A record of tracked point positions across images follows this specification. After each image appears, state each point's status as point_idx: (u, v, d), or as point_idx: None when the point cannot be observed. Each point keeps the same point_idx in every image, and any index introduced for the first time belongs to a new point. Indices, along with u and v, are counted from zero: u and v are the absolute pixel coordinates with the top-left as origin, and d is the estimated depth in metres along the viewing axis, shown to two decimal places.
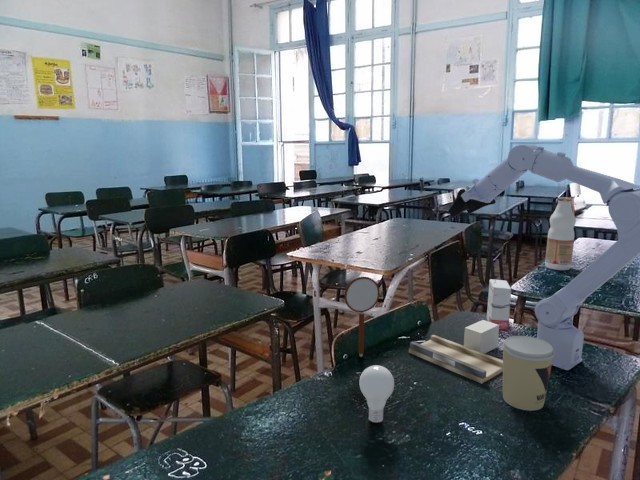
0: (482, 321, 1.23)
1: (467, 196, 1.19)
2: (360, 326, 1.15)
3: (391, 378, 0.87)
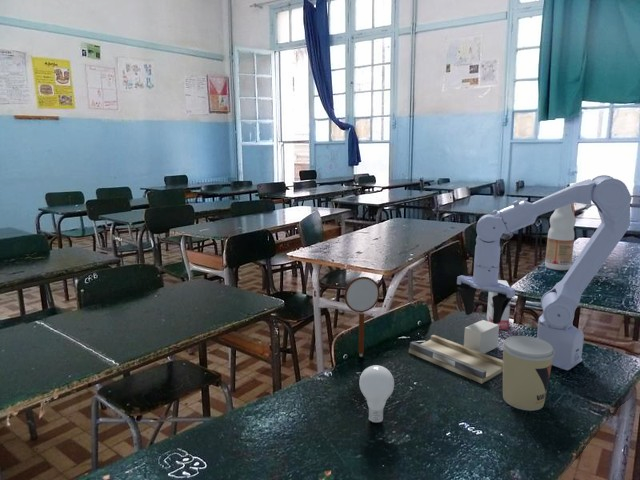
0: (482, 321, 1.23)
1: (514, 291, 1.13)
2: (360, 326, 1.15)
3: (391, 378, 0.87)
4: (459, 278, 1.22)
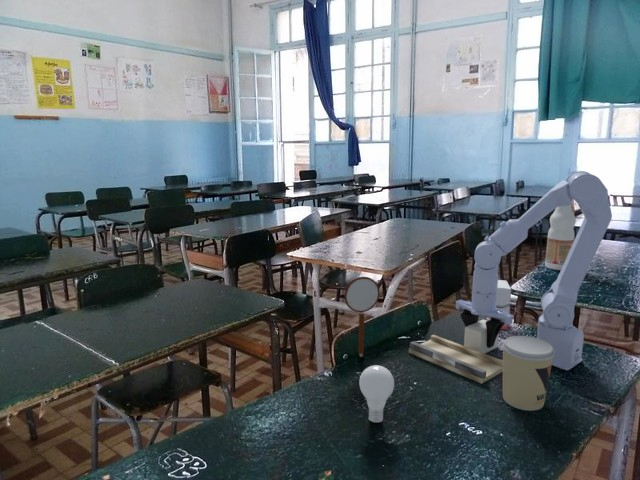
0: (482, 320, 1.23)
1: (511, 317, 1.14)
2: (360, 326, 1.15)
3: (391, 378, 0.87)
4: (458, 303, 1.23)
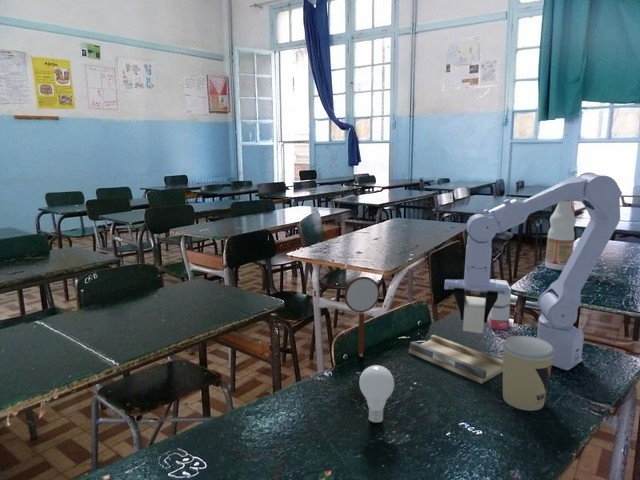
0: (468, 297, 1.20)
1: None
2: (360, 326, 1.15)
3: (391, 378, 0.87)
4: (447, 283, 1.17)
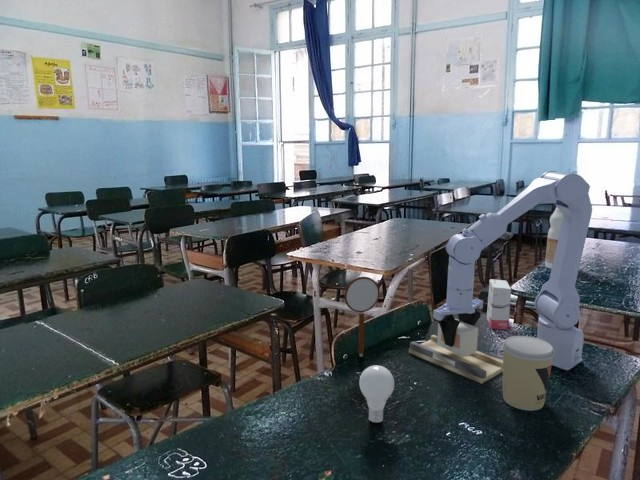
0: None
1: None
2: (360, 326, 1.15)
3: (391, 378, 0.87)
4: (442, 313, 1.08)
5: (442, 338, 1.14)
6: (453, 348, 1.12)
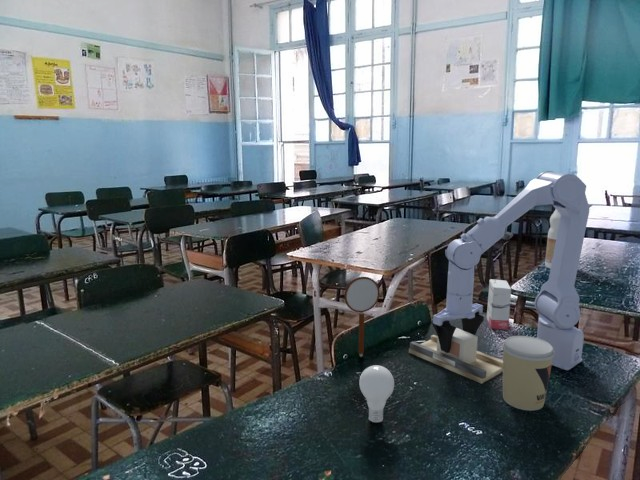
0: None
1: None
2: (360, 326, 1.15)
3: (391, 378, 0.87)
4: (442, 318, 1.08)
5: None
6: None
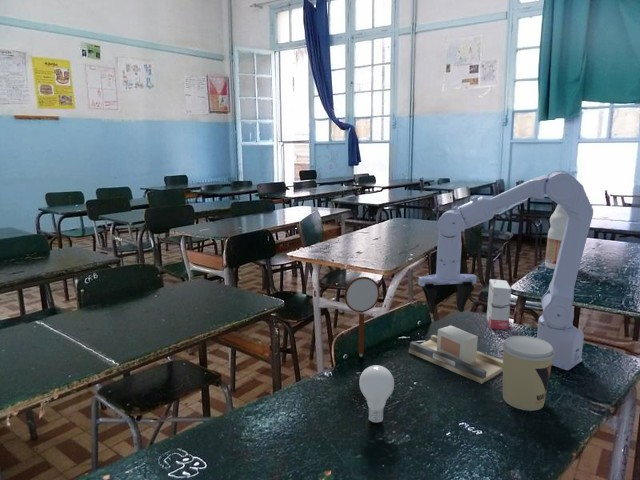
0: (442, 330, 1.15)
1: None
2: (360, 326, 1.15)
3: (391, 378, 0.87)
4: (424, 280, 1.19)
5: (442, 346, 1.15)
6: None
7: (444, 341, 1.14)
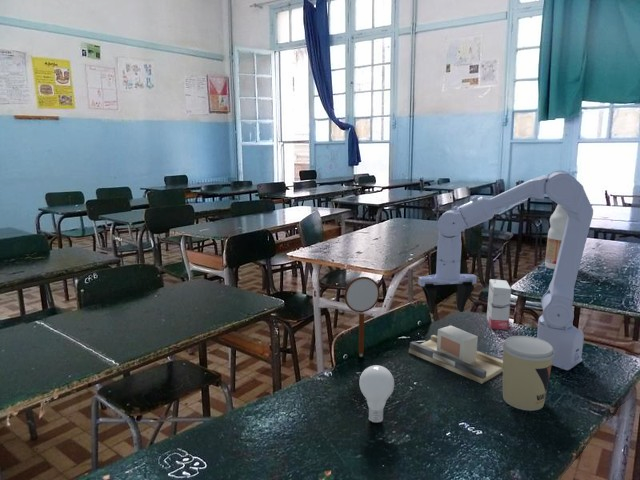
0: (442, 330, 1.15)
1: None
2: (360, 326, 1.15)
3: (391, 378, 0.87)
4: (424, 280, 1.19)
5: (442, 346, 1.15)
6: None
7: (444, 341, 1.14)
